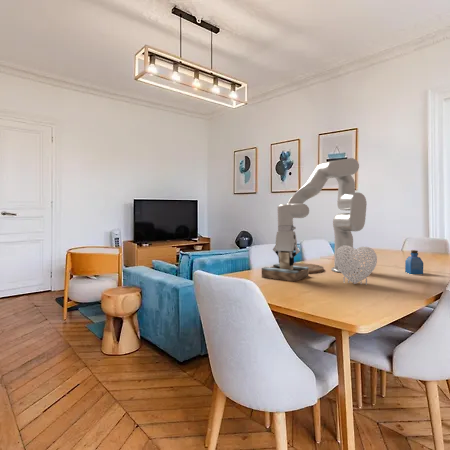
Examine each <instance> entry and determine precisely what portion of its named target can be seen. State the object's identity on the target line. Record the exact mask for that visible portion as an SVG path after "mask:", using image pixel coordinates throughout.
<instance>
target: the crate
mask: <svg viewBox="0 0 450 450" xmlns="http://www.w3.org/2000/svg"><path fill="white" fill-rule="evenodd" d="M308 271H309V267H303V266H293V270H288V269H280V265H279V263H275V264H273V265H272V266H270V267H269V266H264V267H262V268H261V278H264V277H266V279H271V278H273V280H279V279H280V281H286V280H287V281H288V282H293V281H294V282H297V281H300V280H302V279H304V278H307V277H309V274H308Z"/></svg>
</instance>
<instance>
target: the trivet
mask: <svg viewBox="0 0 450 450" xmlns="http://www.w3.org/2000/svg"><path fill="white" fill-rule="evenodd" d="M293 266H303V267H309V271H308V275H312V274H320V273H323V272H324V270H325V269H324V268H325V267H324V266H323V265H320V264H319V265H318V264H314V263H305V262H304V263H303V262H302V263H300V262H297V263H295V262H294V264H293Z"/></svg>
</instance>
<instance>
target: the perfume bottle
mask: <svg viewBox="0 0 450 450" xmlns="http://www.w3.org/2000/svg"><path fill="white" fill-rule="evenodd" d="M418 252H419V251H418V250H415V249H414V250H413V249H411V250H410V255H409V256H407V258H406V259H405V260H404V261H405V265H404V271H405V272H404V273H406V272H407V273H406V274H408V273H409V274H408V275H410V274H423V275H424V262H423V260H422V258H421V257H419V253H418Z"/></svg>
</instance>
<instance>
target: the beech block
mask: <svg viewBox="0 0 450 450" xmlns="http://www.w3.org/2000/svg"><path fill="white" fill-rule="evenodd" d="M289 258H290V254H289V252H285V251H283V252H279V257H278V262H279V261H280V269H288V270H293V265H292V266H290V261H289Z"/></svg>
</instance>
